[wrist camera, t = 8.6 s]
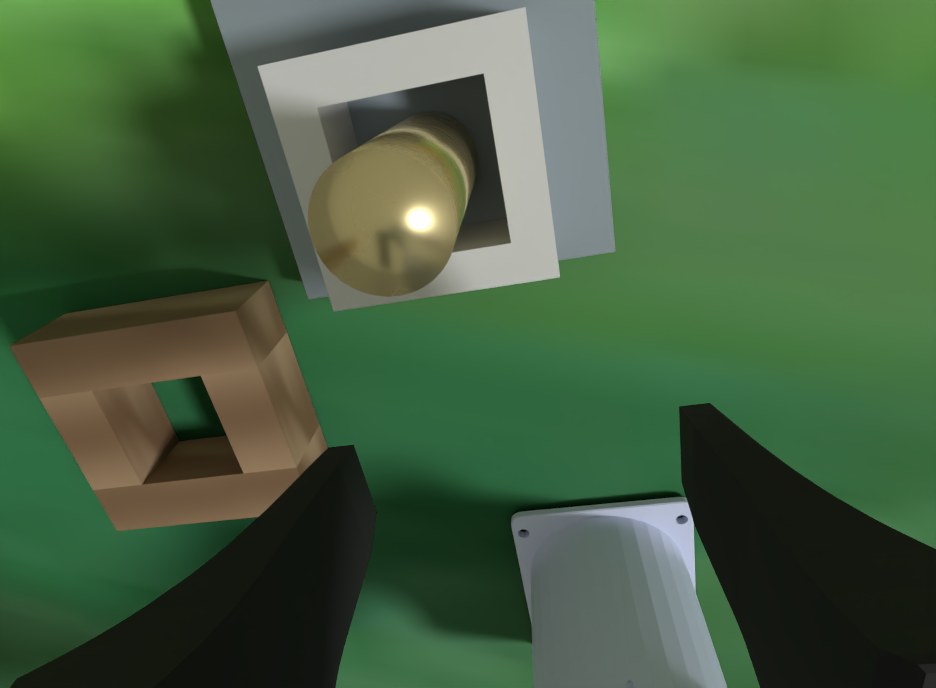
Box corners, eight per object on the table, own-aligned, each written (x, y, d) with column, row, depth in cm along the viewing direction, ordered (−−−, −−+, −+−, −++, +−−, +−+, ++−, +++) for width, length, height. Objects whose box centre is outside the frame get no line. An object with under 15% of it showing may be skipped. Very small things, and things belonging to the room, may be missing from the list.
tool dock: (609, 239, 21) (644, 309, 15) (320, 284, 23) (253, 364, 17) (554, -392, 14) (579, -695, 9) (148, -263, 16) (-63, -444, 10)
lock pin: (483, 202, 19) (465, 289, 12) (395, 212, 20) (326, 302, 13) (472, 105, 18) (444, 139, 11) (378, 117, 18) (291, 158, 11)
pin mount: (334, 465, 27) (313, 511, 24) (155, 485, 28) (117, 531, 25) (268, 280, 23) (235, 310, 20) (65, 313, 24) (8, 346, 21)
